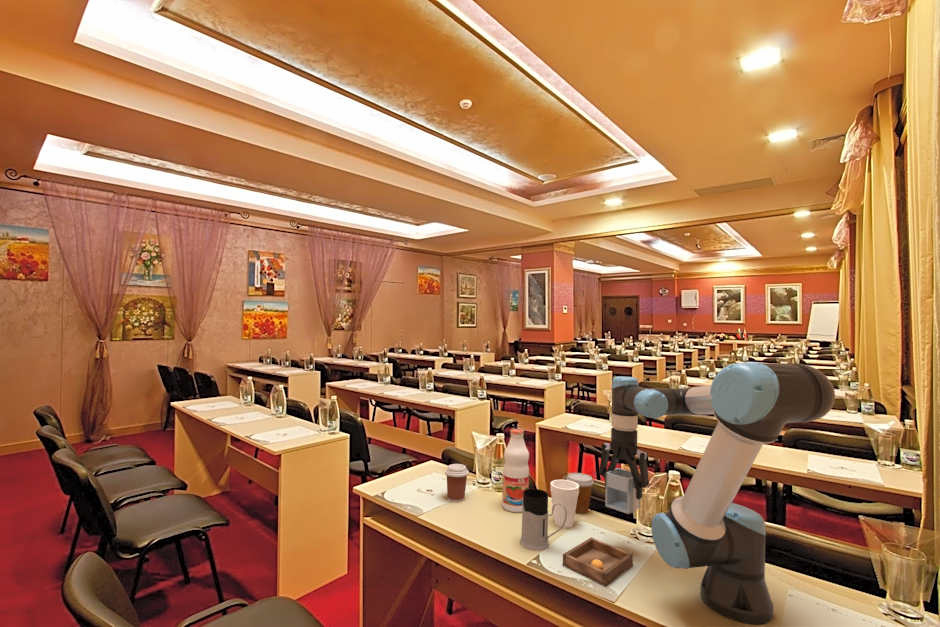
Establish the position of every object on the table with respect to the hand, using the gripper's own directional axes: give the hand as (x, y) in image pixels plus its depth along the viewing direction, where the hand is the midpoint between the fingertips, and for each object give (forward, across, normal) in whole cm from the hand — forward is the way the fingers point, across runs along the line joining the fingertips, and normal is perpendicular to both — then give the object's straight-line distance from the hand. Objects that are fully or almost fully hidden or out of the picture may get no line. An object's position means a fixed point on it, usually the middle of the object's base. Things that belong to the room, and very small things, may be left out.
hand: (622, 504), depth 132 cm
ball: (+11, -2, +20) cm, 23 cm away
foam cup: (+13, +21, -1) cm, 25 cm away
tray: (+13, 0, +14) cm, 19 cm away
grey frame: (+1, 0, 0) cm, 1 cm away
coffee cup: (+13, +60, +12) cm, 63 cm away
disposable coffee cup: (+13, +24, -15) cm, 31 cm away
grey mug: (+13, +17, +16) cm, 27 cm away
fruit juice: (+13, +40, +1) cm, 42 cm away
